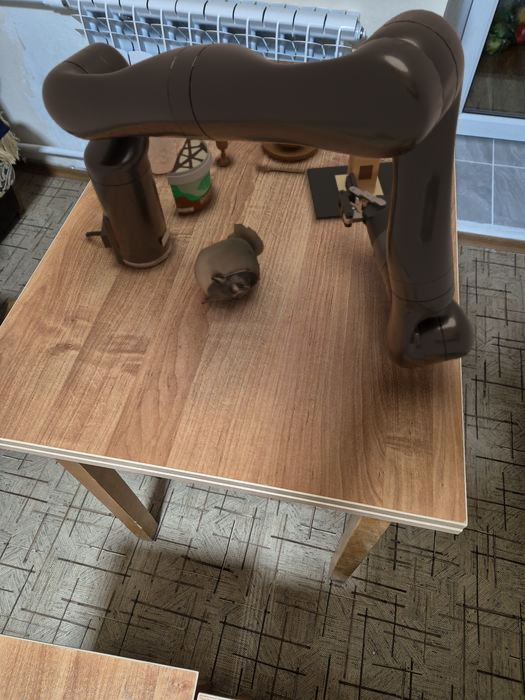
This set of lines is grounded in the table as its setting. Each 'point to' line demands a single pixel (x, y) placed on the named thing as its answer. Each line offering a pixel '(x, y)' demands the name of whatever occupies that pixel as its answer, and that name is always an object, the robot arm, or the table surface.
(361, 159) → the tan block
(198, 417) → the table surface
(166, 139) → the white cup
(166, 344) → the table surface
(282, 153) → the place setting
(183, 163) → the food container
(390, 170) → the mat
